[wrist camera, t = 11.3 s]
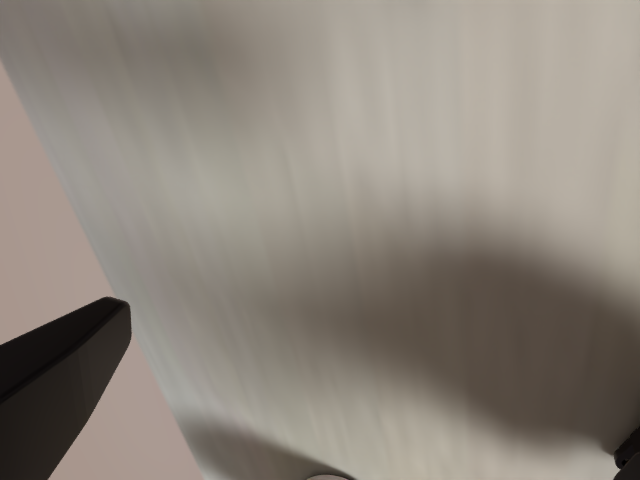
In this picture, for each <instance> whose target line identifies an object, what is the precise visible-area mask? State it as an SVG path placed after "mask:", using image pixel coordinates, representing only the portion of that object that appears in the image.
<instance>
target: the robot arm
mask: <svg viewBox="0 0 640 480" xmlns="http://www.w3.org/2000/svg"><path fill="white" fill-rule="evenodd" d="M131 334H132V332H131V312H130V305H129V304H128V302H126V301H123V300H120V299H116V298H113V297H104V298H101V299H99V300H97V301H94V302H92V303H90V304H88V305H86V306H84V307H81V308H79V309H78V310H75V311H73V312H71V313H69V314H66V315H64V316H62V317H60V318H58V319H56V320H54V321H51V322H49V323H47V324H45V325H43V326H40V327H38V328H36V329H34V330H32V331H30V332H28V333H26V334H23V335H21V336H19V337H17V338H15V339H12V340H10V341H8V342H6V343H4V344H2V345H0V480H48V478H49V477H50V475H51V474H52V473H53V471H54V470H55V468H56V467H57V465H58V464H59V462H60V461H61V459H62V458H63V457H64V455H65V454H66V452H67V451H68V449H69V448H70V446H71V445H72V444H73V442H74V441H75V439H76V438H77V436H78V435H79V433H80V431H81V430H82V429H83V427H84V426H85V424H86V423H87V421H88V419H89V418H90V416H91V414H92V412H93V411H94V409H95V407H96V405H97V403H98V402H99V400H100V398H101V396H102V394H103V392H104V391H105V388H106V387H107V385H108V383H109V381H110V379H111V378H112V376H113V374H114V372H115V370H116V368H117V367H118V365H119V363H120V361H121V359H122V357H123V355H124V354H125V352H126V350H127V348H128V346H129V343H130V340H131ZM614 459H615V464H616V466H617V467H618V468H619V469H621V470H620V471H619V472H618V473H617V474H616V476H615V477H614V479H613V480H640V427H638V428H637V429H636V430H635V431H634V432H633V433H632V434H631V435H630V438H629V439H628V440H627V441H626V442H625V443H624V444H623V445H621V446H620V447H619V448H618V449H617V450H616V451H615V453H614ZM625 459H629V460H627V461H626V460H625Z"/></svg>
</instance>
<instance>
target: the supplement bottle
mask: <svg viewBox="0 0 640 480" xmlns="http://www.w3.org/2000/svg"><path fill="white" fill-rule="evenodd" d="M307 480H348V479H345V478H343V477H339V476H334V475H317V476H313V477H311V478H309V479H307Z"/></svg>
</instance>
